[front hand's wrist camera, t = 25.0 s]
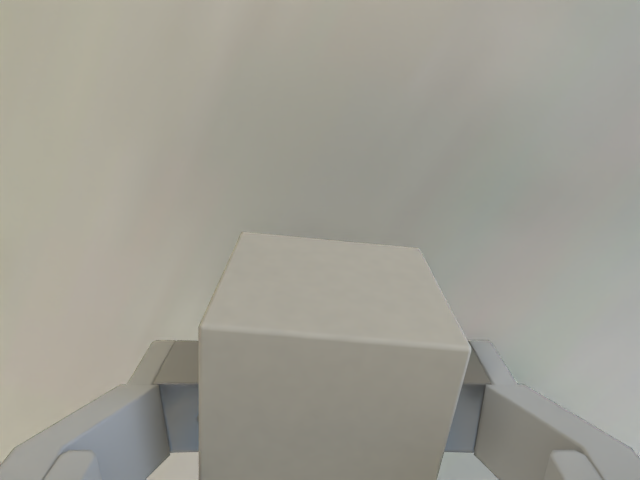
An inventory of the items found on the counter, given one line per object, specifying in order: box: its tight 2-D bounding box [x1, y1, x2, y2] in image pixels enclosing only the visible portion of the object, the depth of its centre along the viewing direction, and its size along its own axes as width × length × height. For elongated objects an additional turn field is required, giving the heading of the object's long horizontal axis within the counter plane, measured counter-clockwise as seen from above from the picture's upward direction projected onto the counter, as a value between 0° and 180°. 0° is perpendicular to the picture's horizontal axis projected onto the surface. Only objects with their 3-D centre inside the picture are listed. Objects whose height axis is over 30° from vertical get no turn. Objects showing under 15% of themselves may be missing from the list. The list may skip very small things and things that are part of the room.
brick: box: [199, 232, 471, 480], centre depth 10 cm, size 5×5×4 cm
